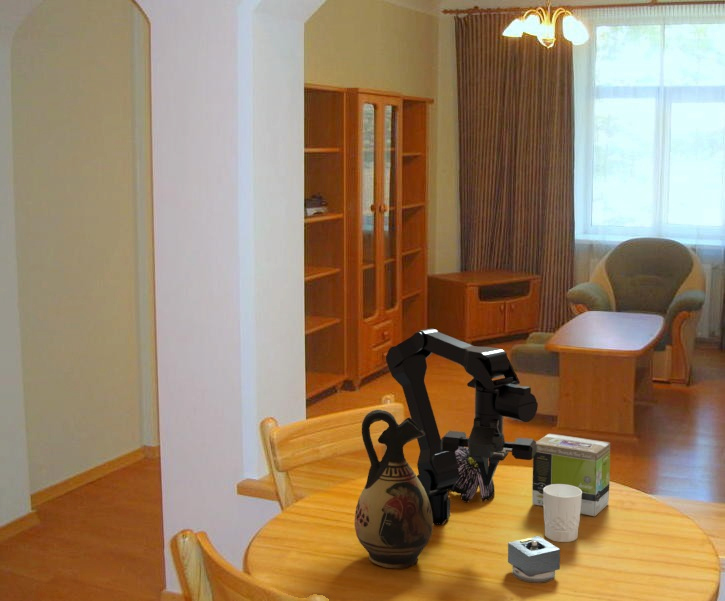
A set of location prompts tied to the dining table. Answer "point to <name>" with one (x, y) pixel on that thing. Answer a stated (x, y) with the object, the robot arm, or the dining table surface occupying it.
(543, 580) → the hub
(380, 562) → the ceramic jug
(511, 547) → the grey knob housing box
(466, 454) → the decorative flower
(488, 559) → the dining table surface
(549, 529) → the white cup
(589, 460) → the tea box
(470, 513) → the dining table surface
